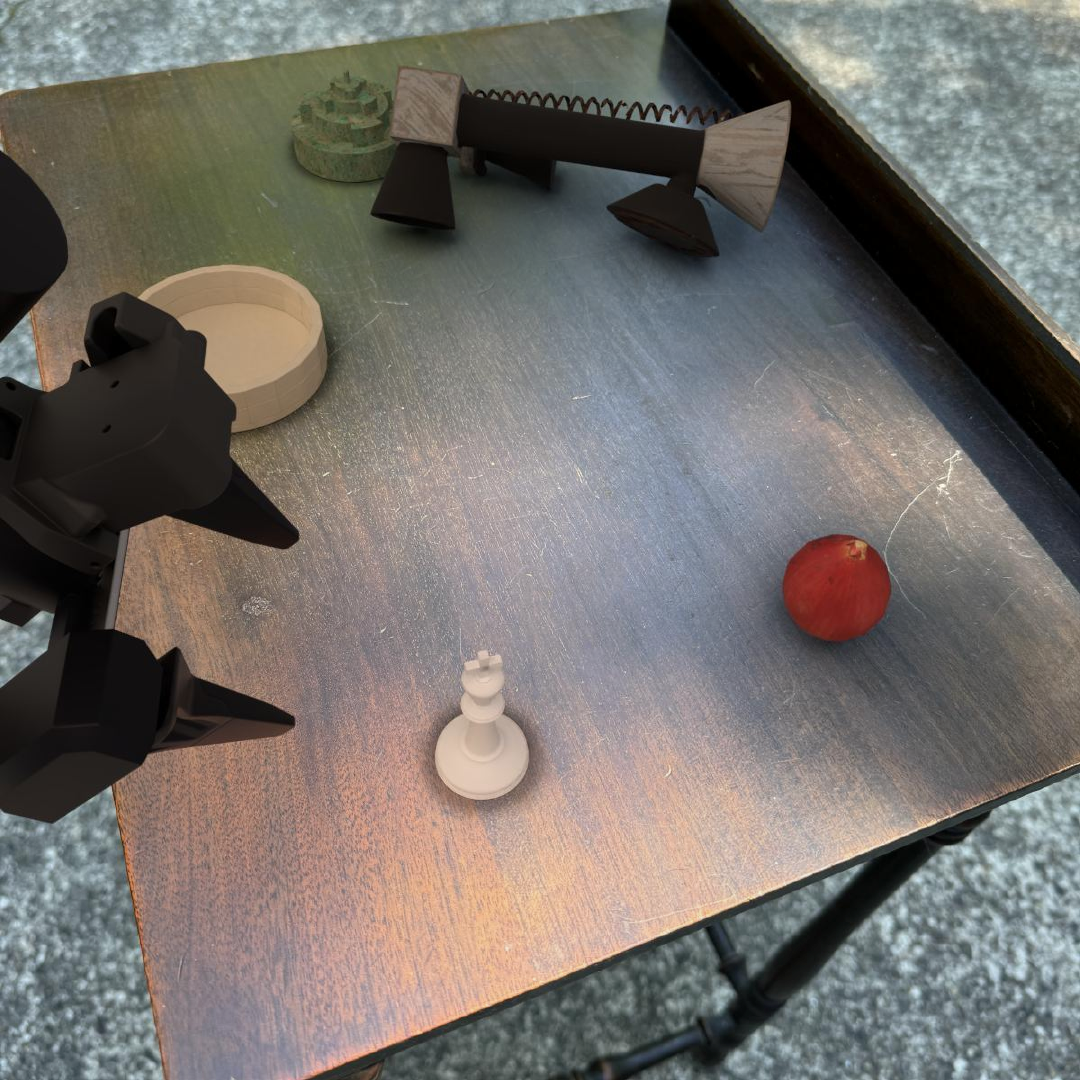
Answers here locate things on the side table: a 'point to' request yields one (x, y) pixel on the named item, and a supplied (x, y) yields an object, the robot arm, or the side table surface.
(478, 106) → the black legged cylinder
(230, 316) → the pan
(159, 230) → the side table surface
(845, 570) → the onion
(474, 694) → the chess piece
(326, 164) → the decorative artifact
